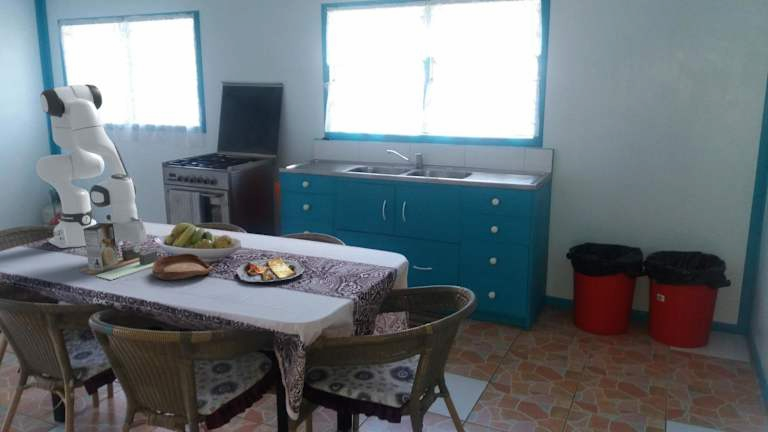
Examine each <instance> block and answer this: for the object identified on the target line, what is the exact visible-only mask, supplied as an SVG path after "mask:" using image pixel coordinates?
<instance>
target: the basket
mask: <svg viewBox="0 0 768 432" xmlns="http://www.w3.org/2000/svg"><path fill="white" fill-rule="evenodd" d="M212 269H213V266H212V265H211V266H210V265H209V264H208V263H206V262H205V261H204V260H203V259H202V258H200V256H199V255H197V254H194V253H189V252H188V253H180V254H176V255H175V254H174V255H171V254H169V255H166V256H164V257H160V258H159V259H158V260H156V261H155V262H154V264H153V267H152V275H153V276H155V277H156V278H158V279H161V280H163V281H164V280H166V281H174V280H175V281H176V280H182V279H184V278H191V277H194V276H205V275H208V274H210V272H211V271H212Z"/></svg>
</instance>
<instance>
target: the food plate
mask: <svg viewBox="0 0 768 432" xmlns="http://www.w3.org/2000/svg"><path fill="white" fill-rule="evenodd" d="M304 271H305V269H304V267H303V265H302V264H301V263H299V262H298V261H295V260H291V259H284V258H282V257H281V256H278V257H274V258H267V259H258V260H252V261H247V262H246V263H244V264H241V265H240V266H238V267H237V269H236V270H235V272H236V273H237V275H238V277H239V278H240V280H242V281H244V282H249V283H250V282H251V283H259V282H260V283H270V282H271V283H272V282H279V281H283V280H288V279H293V278H295V277H297V276H299V275H300V274H302V273H303V272H304ZM274 279H275V280H274Z"/></svg>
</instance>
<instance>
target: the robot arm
mask: <svg viewBox="0 0 768 432" xmlns="http://www.w3.org/2000/svg"><path fill="white" fill-rule="evenodd" d="M102 104H103V97H102V93H101V91H100V89H99V88H98V87H97V85H95V84H84V85H83V84H82V85H81V84H73V85H67V86H60V87H55V88H47V89H44V90H43V91H42V92H41V94H40V106H41V108H42V111H43V112H44V113H45V114H47V115H48V116H50V122H51V132H52V140H53V142H54V144H55V145H56V146H59V147H60V148H62V149H66V150H69V151H70V153H64V154H63V153H62V154H50V155H46V156H43V157H40V158H39V159H38V161H37V163H36V166H35V169H36V174H37V175H38V176H39V178H40V179H42V180H43V181H45V182H47V183H48V184H50V185H51V186H53V188H54V189H55V190H56V192H57V194H58V197H59V199H60V205H61V209H62V210H61V211H62V212H59V214H60V215H59V216H60V222H59V223H58V224H57V225H56V226H55V227H54V228H53V232H52V233H53V238H49V239H48V243H49V244H52V245H54V246H56V247H57V248H60V249H66V248H80V247H86V244H85V237H84V230H83V229H85V228H87V227H90V226H92V225H95V224H97V221H96V220H95V219H94V212H93V211H94V210H93V209H92V207H91V202H92V204H93V205H94V206H96V207H97V208H108V207H111V212H110V213H107V214H104V218H105V221H106V223H113V228H114V235H115V243H116V245H117V246H118V249H119V250H123V249H126V247H125V244H124V243H123V242H124V241H128V242H133V245H134V246H135V248H133V250H134V252H136V253H137V252H140V253H141V249H140V248H139V247H141V245H142V243H144V242H147V240H148V235H147V229H146V225H145V224H144V222H143V221H142V219H141V218H138V210H137V205H136V201H135V200H136V194H137V188H136V185H135V183H134V181H133V180H132V177H131V176H130V175H129V172H128V171H127V168H126V166H125V163H124V161H123V158H122V156H121V154H120V151H119V149H118V147H117V145H116V143H115V142H114V141H113V140H111V139H110V138H109V136H108V134H107V133H106V131H105V129H104V124H103V121H102V119H101V115H100V114H99V113H100V112H99V111H98V110H99V109H100V108H101V106H102ZM104 161H105V162H106V164H107V167H108V169H109V171H110V173H111V175H110V176H109V177H108V178H107V179H106V180H104V181H102V182H99V183H96V184H94V185H92V186H91V188H90V191H89V192H88V190H87V189H84V188H82V187H80V186H77V185H74V184H73V183H72V181H73V180H85V179H91V178H95V177H98V176H101V175H102V174H103V173H104V171H105V162H104ZM123 240H124V241H123Z"/></svg>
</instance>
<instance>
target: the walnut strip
mask: <svg viewBox="0 0 768 432" xmlns="http://www.w3.org/2000/svg"><path fill="white" fill-rule="evenodd" d="M140 247H141V246H140ZM140 247H139V248H140ZM133 248H135V245H134V246H129V247H125V248H124V249H121V256H122V257H117V258H118V263H117V264H115V265H113V266H111V267H109V268H107V269H105V270H103V271H102V270H89V266H87V267H84V268H82V269H81V268H80V269H79V270H78V272H80V271H81V272H80V273H83V272H85V273H84V274H87V273H89V274H88V275H91V274H92V275H91V276H96V275H98V273H99V274H101V273H102V272H103V273H105V271H106V272H108V270H109V271H111V269H112V270H114V269H117V268H118V267H119V268H120V267H121V266H122V267H124V266H127V265H130V264H133V263H136V262H140V261H139V254H141V251H140V252H137V253H136V252H134V250H133ZM95 274H96V275H95Z"/></svg>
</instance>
